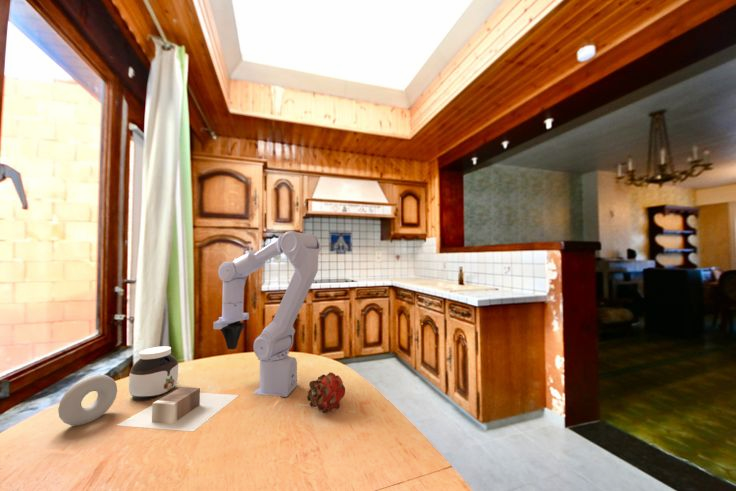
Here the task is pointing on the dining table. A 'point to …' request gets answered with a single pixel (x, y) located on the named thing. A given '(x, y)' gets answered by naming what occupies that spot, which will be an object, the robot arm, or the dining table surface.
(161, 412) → the walnut block
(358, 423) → the dining table surface
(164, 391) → the spread jar
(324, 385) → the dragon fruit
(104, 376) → the donut
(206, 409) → the mat
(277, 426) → the dining table surface
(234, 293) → the robot arm
